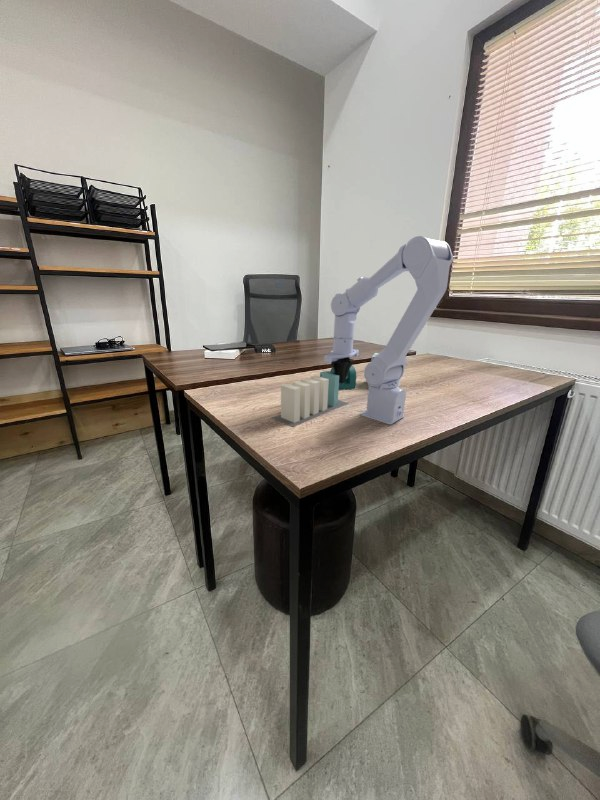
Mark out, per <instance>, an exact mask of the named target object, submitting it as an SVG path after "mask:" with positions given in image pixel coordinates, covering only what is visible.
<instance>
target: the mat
mask: <svg viewBox="0 0 600 800" xmlns="http://www.w3.org/2000/svg"><path fill="white" fill-rule="evenodd" d="M346 405H349V403H348V402H346V401H343V400H339V399H338V405H336V406H334V407H333V406H330V405H327V410H324V411H321V410H319V413H317V414H315V415H313V414H310V415H309V417H307V418H305V419H304V418H301V417H300V421H298V422H295V423H294V422H291V421H289V420H286V419H284V418H282V417H281V413H280V414H278V415H275V416H273V417H271V419H273V420H275V421H278V422H280V423H282V424H284V425H287V426H289V427H290V428H291V427H292V428H295V427H297V426H298V425H301V424H304V423H306V422H309V421H311V420H313V419H316V418H317V417H321V416H323V415H324V414H328V413H329V412H332V411H334V410H336V409H339V408H341V407H344V406H346Z"/></svg>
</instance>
